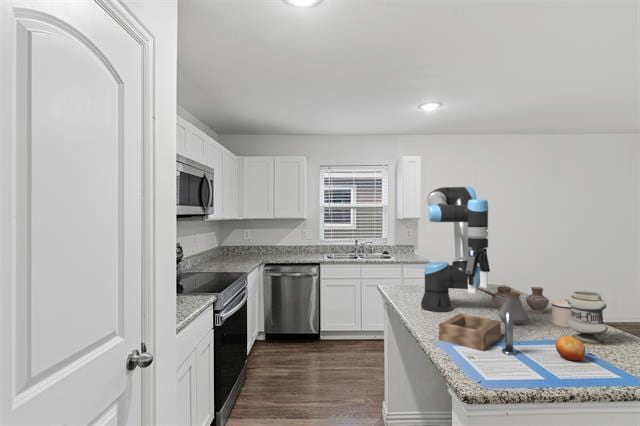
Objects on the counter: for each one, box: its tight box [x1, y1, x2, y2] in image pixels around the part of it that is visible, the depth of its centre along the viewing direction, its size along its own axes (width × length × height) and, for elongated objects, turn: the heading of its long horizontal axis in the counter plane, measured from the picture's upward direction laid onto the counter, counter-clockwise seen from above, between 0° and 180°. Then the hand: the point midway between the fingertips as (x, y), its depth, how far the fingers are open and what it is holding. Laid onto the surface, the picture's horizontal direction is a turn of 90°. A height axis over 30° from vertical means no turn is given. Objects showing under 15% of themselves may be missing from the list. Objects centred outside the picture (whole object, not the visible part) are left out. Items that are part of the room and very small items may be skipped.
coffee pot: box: [476, 287, 529, 326], centre depth 156 cm, size 21×12×15 cm, turn 80°
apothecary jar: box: [567, 290, 609, 346], centre depth 132 cm, size 12×12×18 cm
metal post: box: [501, 311, 517, 356], centre depth 120 cm, size 4×4×14 cm
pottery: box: [491, 286, 550, 314], centre depth 175 cm, size 11×25×12 cm, turn 68°
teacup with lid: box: [551, 297, 571, 329], centre depth 152 cm, size 12×9×12 cm
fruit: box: [555, 335, 586, 361], centre depth 116 cm, size 8×8×8 cm
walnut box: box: [438, 313, 502, 352], centre depth 134 cm, size 16×20×6 cm
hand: (478, 290), depth 141 cm, fingers open, 13 cm apart
